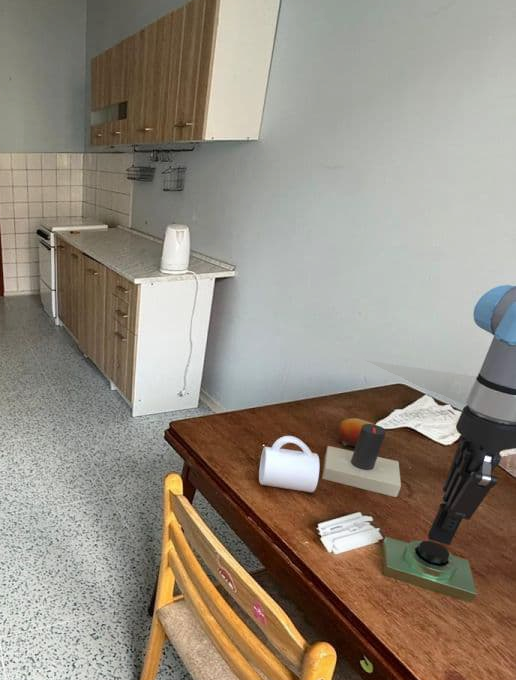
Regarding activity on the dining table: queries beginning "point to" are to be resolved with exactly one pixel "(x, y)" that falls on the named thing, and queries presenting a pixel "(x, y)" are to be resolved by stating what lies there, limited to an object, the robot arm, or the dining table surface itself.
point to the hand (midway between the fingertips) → (438, 539)
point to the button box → (427, 570)
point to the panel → (362, 472)
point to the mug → (289, 466)
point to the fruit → (351, 431)
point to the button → (433, 553)
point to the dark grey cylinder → (368, 446)
